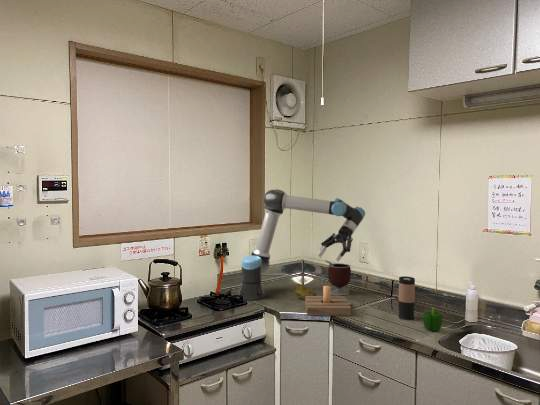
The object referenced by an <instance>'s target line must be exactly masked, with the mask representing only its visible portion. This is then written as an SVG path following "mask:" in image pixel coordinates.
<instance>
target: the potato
mask: <svg viewBox="0 0 540 405" xmlns="http://www.w3.org/2000/svg"><path fill="white" fill-rule="evenodd" d="M293 291H294V293H295V295H296V296H297V297H299V298H300V299H301V300H304V301H305V296H317V294H316V292H315V291H313V290H312V289H310V288H309V287H307V286H306V285H305V284H296V285H295V286H294V288H293Z"/></svg>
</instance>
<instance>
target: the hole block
mask: <svg viewBox="0 0 540 405" xmlns="http://www.w3.org/2000/svg"><path fill="white" fill-rule="evenodd" d="M304 304H305V309H306V315H307V316H338V315H351V316H352V307H351V305H350V303H349V302H348V299H347V298H346V295H345V296H337V295H331V303H323V295H316V296H305V300H304Z"/></svg>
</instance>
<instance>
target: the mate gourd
mask: <svg viewBox="0 0 540 405" xmlns="http://www.w3.org/2000/svg"><path fill="white" fill-rule="evenodd" d="M325 263H328V264H329V265H328V269H327V278H328V281H329V283H330V285H331V286H333V287H335V288H336V289H331V296H340V295H345V296H348V295H347V294H349V295H350V291H349V290H345V289H343V287H345V286H348V285H349V283H350V282H351V277H352V268H351V264H346V263H332V262H330V261H328V260H325Z"/></svg>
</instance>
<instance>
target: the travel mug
mask: <svg viewBox="0 0 540 405" xmlns="http://www.w3.org/2000/svg"><path fill="white" fill-rule="evenodd" d="M415 282H416V278H415V277H413V276H399V277H398V299H397V300H398V318H399V320H403V321H412V320H414V319H415V303H416V302H415V301H416V299H415V298H416V297H415V296H416V294H415V293H416V292H415V290H416V289H415V288H416V286H415V285H416V283H415Z"/></svg>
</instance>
